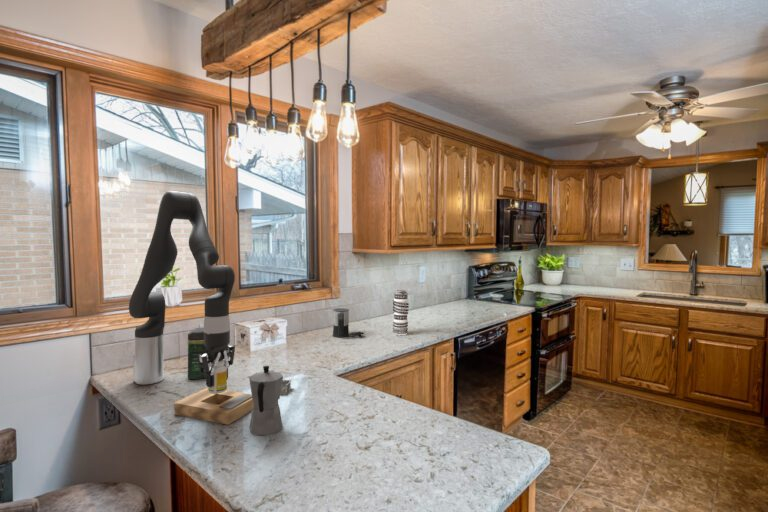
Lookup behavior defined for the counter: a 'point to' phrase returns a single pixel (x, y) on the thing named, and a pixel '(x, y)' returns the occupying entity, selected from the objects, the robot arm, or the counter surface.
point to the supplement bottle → (219, 378)
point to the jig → (215, 406)
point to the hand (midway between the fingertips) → (217, 383)
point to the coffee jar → (195, 352)
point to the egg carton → (285, 386)
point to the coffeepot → (265, 402)
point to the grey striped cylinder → (400, 312)
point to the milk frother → (342, 323)
